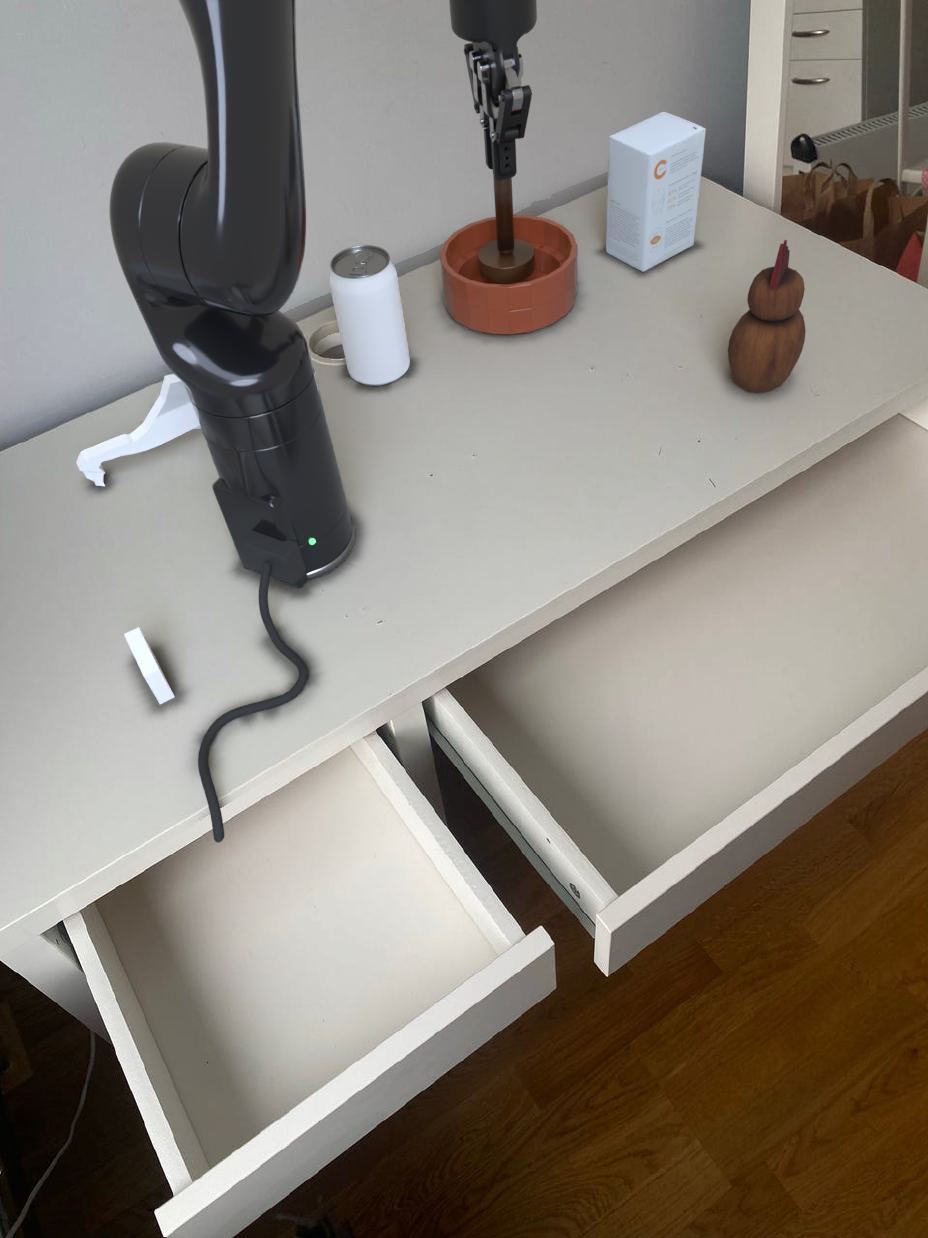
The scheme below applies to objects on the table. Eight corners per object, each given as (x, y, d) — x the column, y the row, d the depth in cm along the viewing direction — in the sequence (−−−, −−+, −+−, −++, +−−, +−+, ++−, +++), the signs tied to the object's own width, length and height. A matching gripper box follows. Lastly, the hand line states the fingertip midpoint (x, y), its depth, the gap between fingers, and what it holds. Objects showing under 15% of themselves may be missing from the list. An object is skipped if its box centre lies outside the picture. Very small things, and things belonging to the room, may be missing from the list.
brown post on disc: (519, 288, 98) (513, 136, 86) (468, 276, 100) (456, 127, 88) (544, 259, 101) (542, 108, 89) (495, 249, 103) (486, 100, 91)
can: (414, 349, 98) (398, 241, 89) (406, 387, 94) (388, 278, 85) (354, 350, 99) (332, 243, 90) (343, 388, 95) (319, 280, 86)
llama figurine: (256, 464, 98) (75, 478, 88) (270, 364, 91) (75, 368, 81) (263, 473, 97) (80, 489, 87) (277, 373, 90) (81, 378, 80)
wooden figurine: (761, 410, 88) (791, 261, 76) (712, 384, 91) (734, 237, 79) (806, 377, 90) (841, 228, 79) (757, 353, 93) (784, 206, 82)
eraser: (154, 655, 75) (138, 626, 72) (175, 697, 72) (159, 669, 69) (140, 662, 75) (123, 634, 72) (160, 704, 72) (143, 677, 69)
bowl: (541, 351, 96) (539, 298, 92) (422, 321, 101) (415, 270, 97) (597, 279, 104) (598, 228, 99) (483, 255, 109) (480, 205, 104)
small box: (655, 225, 110) (664, 108, 100) (694, 246, 107) (708, 127, 96) (603, 252, 107) (607, 134, 97) (642, 273, 104) (650, 154, 94)
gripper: (427, -49, 83) (446, 150, 97) (471, -1, 75) (485, 211, 88) (508, -65, 84) (515, 135, 97) (561, -18, 75) (561, 194, 89)
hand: (501, 170), depth 93 cm, fingers closed on brown post on disc
